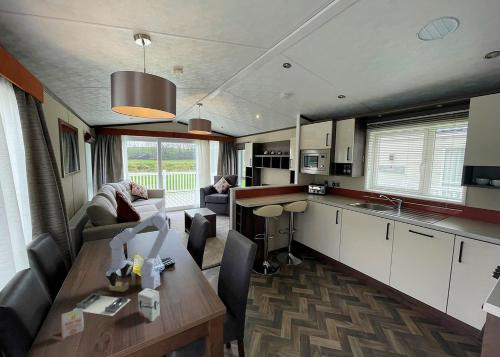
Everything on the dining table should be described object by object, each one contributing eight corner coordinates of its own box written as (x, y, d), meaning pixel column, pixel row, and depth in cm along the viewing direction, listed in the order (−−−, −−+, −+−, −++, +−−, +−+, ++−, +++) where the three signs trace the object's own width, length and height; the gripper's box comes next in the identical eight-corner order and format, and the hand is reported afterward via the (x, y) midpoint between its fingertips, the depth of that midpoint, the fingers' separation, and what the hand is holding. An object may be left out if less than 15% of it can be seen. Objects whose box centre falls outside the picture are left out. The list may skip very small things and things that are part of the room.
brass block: (128, 289, 121) (128, 282, 121) (123, 293, 118) (123, 286, 118) (114, 288, 123) (114, 281, 123) (109, 291, 119) (109, 284, 119)
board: (131, 301, 111) (130, 299, 111) (112, 317, 100) (112, 315, 99) (94, 296, 115) (94, 294, 115) (72, 311, 103) (72, 309, 103)
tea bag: (63, 334, 90) (62, 311, 89) (83, 327, 94) (82, 305, 93) (61, 340, 87) (60, 317, 86) (83, 333, 91) (81, 310, 90)
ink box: (138, 317, 100) (137, 293, 99) (146, 310, 105) (146, 287, 104) (152, 322, 97) (151, 297, 96) (160, 315, 102) (159, 291, 101)
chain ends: (127, 301, 110) (127, 297, 110) (114, 313, 101) (114, 309, 101) (92, 296, 113) (92, 293, 113) (76, 307, 105) (76, 303, 104)
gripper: (121, 252, 127) (122, 274, 128) (100, 263, 112) (101, 288, 113) (132, 253, 126) (132, 275, 127) (112, 264, 111) (113, 289, 112)
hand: (118, 281), depth 120 cm, fingers open, 7 cm apart
